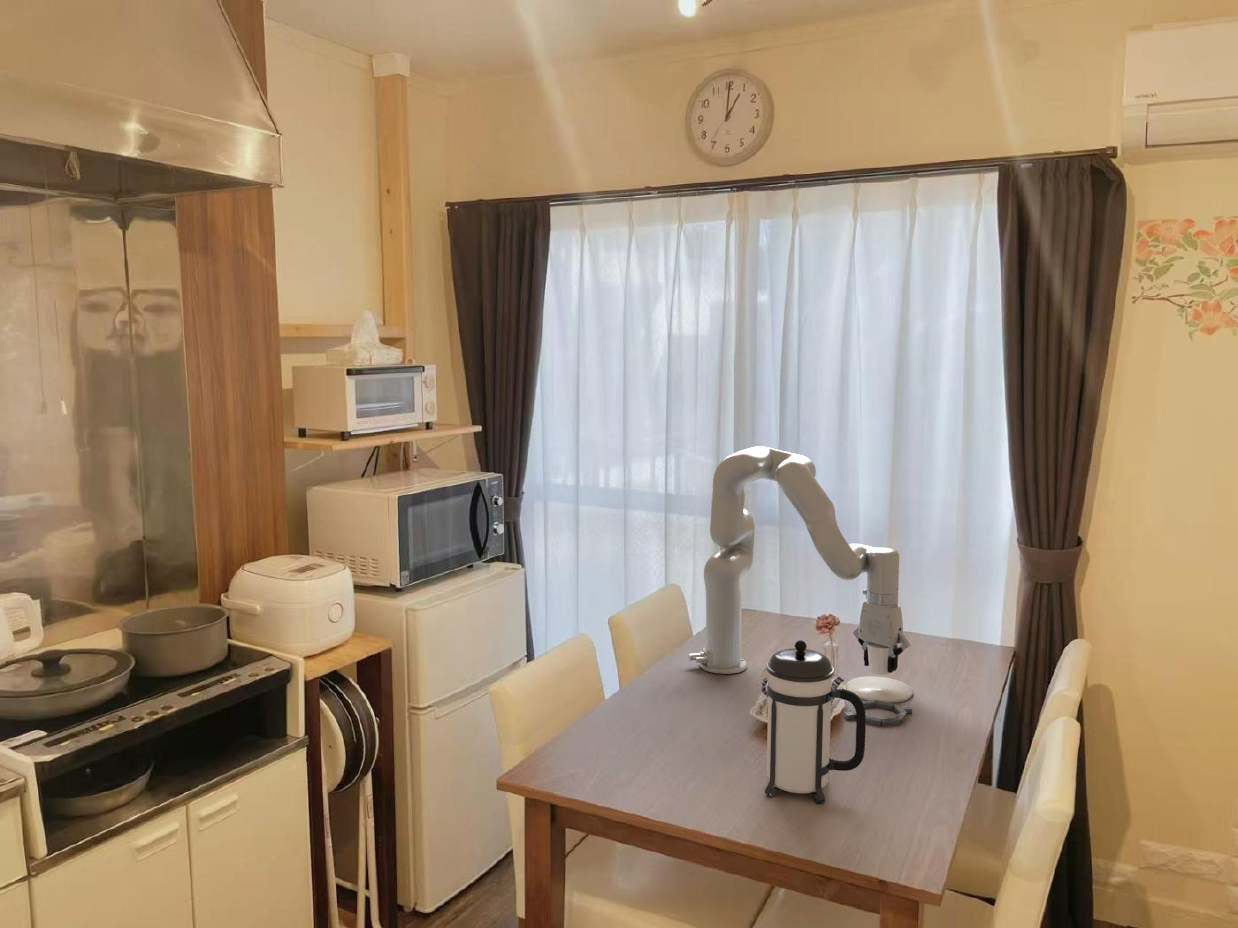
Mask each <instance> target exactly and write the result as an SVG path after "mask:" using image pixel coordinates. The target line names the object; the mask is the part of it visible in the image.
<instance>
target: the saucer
mask: <svg viewBox="0 0 1238 928" xmlns="http://www.w3.org/2000/svg"><path fill="white" fill-rule="evenodd" d="M846 684H847V685H848V687H849V691H851V692H853V693H855V694H856V695H858V696H859V698H860V699H861V700H862V701H871V700H875V701H876V700H878V701H883V702H888V703H893V704H895V703H896V704H897V703H902V702H905V701H909V699H911V698H912V697H913V688H912V687H911V685H909V684H908V683H905V682H904V681H901V680H898V679H894V678H890V677H884V676H872V675H871V676H858V677H855V678H851V679H849V680H848V681H847V683H846Z"/></svg>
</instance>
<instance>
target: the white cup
mask: <svg viewBox="0 0 1238 928" xmlns="http://www.w3.org/2000/svg"><path fill="white" fill-rule="evenodd" d="M867 647H868V660H869V666H868V669H869V672H871V673H872V674H876V675H881V676H882V675H890V674H893V672H891V673H889V672H888V657H890V653H889V648H888V647H887V646H882V645H878V644H875V643H871V642H869V643H867ZM893 648H894V650H895V646H893Z"/></svg>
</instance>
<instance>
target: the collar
mask: <svg viewBox="0 0 1238 928" xmlns="http://www.w3.org/2000/svg"><path fill="white" fill-rule="evenodd" d="M862 702H863V704H864V707H865V709H869V708H870V709H872V708H877V709H882V710H888V711H891V712H893V713H894V714H896V716H895V717H887V718H885V717H884V718H878V717H873V716H868V715H866V725H867V724H868V725H872V726H877V727H889V726H890V727H891V726H900V725H902V724H903V723H904V722H905V720H906V719H907V715H911V714H910V713H912V714H913V708H912V707H910V705H902V706H899V705H898V704H895V703H888V702H883V701H878V700H876V701H875V700H871V701H866V700H862ZM843 718H844V719H845V720H846V721H853V720H856V710H855V708H854V706H853V705H852V706H851V707H850V708H849V711H843Z"/></svg>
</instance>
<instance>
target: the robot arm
mask: <svg viewBox="0 0 1238 928" xmlns="http://www.w3.org/2000/svg"><path fill="white" fill-rule="evenodd" d="M816 474H817V470H816V466H815V464H814V462H813V461H812V460H811V459H810V458H809V457H806V456H805V455H802V454H797V453H792V452H789V451H784V450H780V449H776V448H771V447H768V446H762V445H761V446H758V445H757V446H752V447H749V448H745V449H743V450H739V451H737V452H734V453H732V454H731V455H728V456H727V457H725V458H724V459H722V460H721V462H719V464H718V465H717V466H716V468H715V471H714V474H713V478H712V479H713V480H712V496H711V497H712V499H711V505H710V506H711V510H710V511H711V512H710V524H709V534H710V537H711V538H710V539H711V540H712V542H713V543H714V544H715V545H716V546H718V547H719V551H716V552H715V553H714V554H712V555H711V556H710V557H709V558H708V559H707V561H706V562H705V564H704V568H703V580H704V581H703V582H704V587H705V647H703V648H702V651H699V652H698V653H688V655H687V658H688V661H689V662H694V661H695V663H698V664H699V666H700V668H701V669H702V670H703V671H706V672H709V673H712V674H720V675H731V674H738V673H741V672H743V671H745V670H746V669H747V666H748V665H747V661H746V660H745V659H744V658H742V620H743V619H742V615H743V614H742V609H743V608H742V606H743V604H742V602H743V600H742V592H741V586H740V585H741V584H740V583H741V580H743V579H744V578H745V577H746V576H747V575H748V574H749V573H750V572H751V569H752V567H753V559H754V544H755V527H756V526H755V521H754V518H753V516H752V514H751V513H750V512H749V510H747V509H746V508H744V507H745V500H746V499H745V489H744V488H745V485H746V484H748V483H751V482H752V483H753V482H755V481H757V480H758V481H759V480H760V479H765V480H770V481H773V482H776V484H777V485H778V486H779V488H780V489H781V491H782V492H783V494H784V495H785V496H786V498H787V500H788V501H789V502H790V503H791V506H793V507H794V510H795V511H796V512H797V513H798V514H799V516H800V518H801V519H802V521H803V522H804V524H805V527H806V529H807V532H808V534H809V536H810V539H811V540H812V541H811V542H812V543H813V546H814V547H815V549H816V551H817V552H818V554H819V555H820V557H821V559H822V560H823V562H824V563H825V564H826V565H827V567H828V569H829V570H830V571H831V573H832V574H833V575H834V576H835V577H837V578H839V579H840V580H843V581H853V580H855V579H857V578H858V577H859V576H861V574H863V573H866V575H867V576H866V589H863V590H862V595H865V599H866V600H863V602H862V605H861V610H860V615H859V622H858V623H859V624H858V627H857V628H856V629H855V630H854V631H853V632H852V634H853V635H854V637H855V638H856V640H857V642H858V643H859V644H860V646H861V649H862V651H863V665H864V667H869V660H868V647H867V643H869V642H871V643H875V644H878V645H882V646H887V647H888V648H889V653H890V657H888V672H889V673H891V672H892V673H894V672H896V670H897V669H898V662H899V660H898V659H899V656H900V655H901V654H902V653H903V652H905V651H906V650H907V649H909V648H910V647H911V643H910V642H909V640H908V639H907V638H906V636H905V635H904V626H903V625H904V623H903V621H904V620H903V613H902V608H901V605H900V603H899V587H900V586H899V580H900V579H899V578H900V553H899V551H898V550H897V549H894V548H891V547H884V546H883V547H881V546H880V547H876V546H875V547H874V546H870V545H866V544H863V543H862V544H861V543H857V542H853V543H848V542H847V540H846V538H845V537H844V536H843V534H842V532H841V530H840V528H839V526H838V522H837V519H836V517H837V516H836V510H835V506H834V503H833V501H832V500H831V499H830V497H829V496H828V495H827V493H826V492H825V490H824V489H823V488H822V486H821V485H820V483H819V482H818V480H817V479H816ZM899 644H901V645H900V646H899ZM893 646H895V650H894V648H893ZM892 673H891V674H892Z"/></svg>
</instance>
